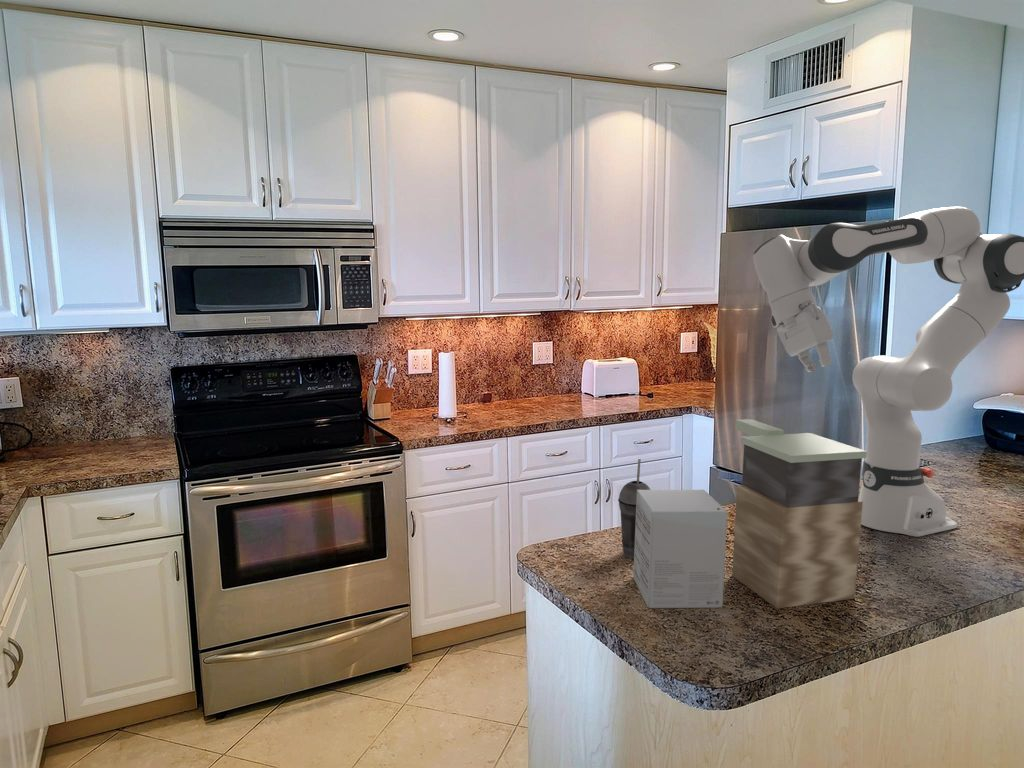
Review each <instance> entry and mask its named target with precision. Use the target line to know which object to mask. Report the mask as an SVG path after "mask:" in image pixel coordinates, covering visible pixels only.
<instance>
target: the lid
mask: <svg viewBox="0 0 1024 768" xmlns="http://www.w3.org/2000/svg"><path fill="white" fill-rule="evenodd" d="M734 424H735V427H734V429H735V431H739V432H741V433H744V434H746V436H745V435H744V436H740V444H743V445H744V444H745V445H747V446H750V447H752V448H755V449H757V450H760V451H762V452H765V453H767V454H770V455H772V456H775V457H777V458H780V459H782V460H785V461H787V462H790V463H797V462H813V461H828V460H843V459H859V458H862V459H866V456H867V451H866V449H865V450H864V449H861V448H858V447H855V446H852V445H849V444H845V443H843V442H839V441H837V440H834V439H831V438H827V437H824V436H821V435H818V434H815V433H811V432H803V433H799V432H798V433H785V430H784V429H782V428H779V427H775V426H773V425H770V424H767V423H764V422H760V421H759V420H755V419H752V418H745V419H744V418H743V419H735V423H734Z"/></svg>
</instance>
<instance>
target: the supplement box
mask: <svg viewBox="0 0 1024 768" xmlns="http://www.w3.org/2000/svg"><path fill="white" fill-rule="evenodd" d="M727 523H728V511H727V510H726V509H725V508H724V507H723V506H722V505H721V504H720V503H719V502H718V501H717V500H715V499H714V498H713V497H712V496H711V495H710V494H709V493H708V492H707V491H706V490H705V489H651V490H637V502H636V526H635V549H634V559H633V575H632V577H633V579H634V580H633V581H635V584H636V586H637V588H638V590H639V592H640V594H641V596H642V599H643V601H644V602H645V604H646V607H647V608H649V609H684V608H685V609H689V608H690V609H692V608H693V609H695V608H696V609H697V608H698V609H701V608H703V609H705V608H709V609H710V608H713V609H714V608H716V609H717V608H723V603H724V586H725V585H724V584H725V566H726V565H725V563H726V541H727V525H728V524H727Z"/></svg>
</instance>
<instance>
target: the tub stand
mask: <svg viewBox="0 0 1024 768" xmlns="http://www.w3.org/2000/svg"><path fill="white" fill-rule="evenodd" d="M862 459H863V458H859V459H843V460H828V461H813V462H797V463H790V462H787V461H785V460H782V459H780V458H777V457H775V456H772V455H770V454H767V453H765V452H762V451H760V450H757V449H755V448H752V447H750V446H747V445H745V444H743V461H742V462H743V463H742V478H741V484H737V485H736V498H735V499H736V500H735V501H736V503H735V519H734V535H733V554H732V566H731V567H732V570H731V576H732V577H733V578H735V579H736V580H737V581H739V582H740V583H741V584H743V585H744V586H745V587H747V588H748V589H749V590H751V591H752V592H754V593H755V594H757V596H758V597H759V596H760V597H761V598H762V599H763V600H764V601H766V602H768V603H769V604H770V605H771V606H773V607H775V609H782V608H783V609H784V608H789V607H796V606H797V607H798V606H805V605H813V604H822V603H831V602H837V601H838V602H839V601H844V600H845V601H846V600H853V599H855V598H856V597H855V596H856V587H857V586H856V585H857V573H858V564H859V550H860V540H861V538H860V537H861V528H862V525H861V517H862V506H863V501H860V500H859V495H860V483H861V474H862Z"/></svg>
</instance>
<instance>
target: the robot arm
mask: <svg viewBox="0 0 1024 768" xmlns="http://www.w3.org/2000/svg"><path fill="white" fill-rule="evenodd" d="M977 215H978V214H976V213H975V212H974V211H973V210H971V209H970V208H968V207H964V206H949V207H947V206H946V207H939V208H932V209H927V210H922V211H917V212H914V213H911V214H907V215H905V216H902V217H900V218H897V219H892V220H888V221H881V222H876V223H871V224H861V225H859V224H854V223H853V224H852V223H847V222H832V223H828V224H826V225H824V226H823V227H822V228H820V230H819V231H817V233H816V234H814V236H813V237H811V238H810V239H809V240H808V239H807V240H801V239H794V238H790V237H787V236H785V235H784V234H778V235H775V236H773V237H771V238H769V239H767V240H766V241H765V242H763V243H762V244H761V245H759V246H758V247H757V248H756V249H755V250H754V252H753V255H752V259H753V260H752V261H753V265H754V268H755V269H754V270H755V272H756V276H757V277H758V280H759V283H760V285H761V287H762V288H763V290H764V291H765V292H766V295H767V299H768V300H767V301H768V302H767V303H768V304H769V307H770V309H771V317H770V323H771V325H772V327H773V328H774V329H775V328H776V333H777V334H778V337H779V340H780V341H781V343H782V345H783V347H784V349H785V352H786V353H787V354H788V355H789V356H790V357H794V356H797V357H798V360H799V361H800V362H801V363H802V365H803V366H804V369H805V370H806V372H807V373H811V372H814V371H816V370H817V365H816V363H815V361H813V359H812V358H811V356H810V355H811V354H810V351H809V350H812V349H814V348H815V351H816V352H817V353H818V357H819V359H818V362H819V363H820V366H821V367H823V368H824V367H827V366H830V365H831V364H832V363H833V361H832V359H831V357H830V347H829V345H828V342H829V341H831V340H833V339H834V332H833V331H834V330H833V329H832V327H831V325H830V323H829V320H828V319H827V317H826V315H825V313H824V311H823V310H822V308H821V307H819V306H818V304H817V302H816V299H815V297H814V294H813V292H812V289H811V288H812V287H817V286H821V285H824V284H826V283H828V282H829V281H830V280H832V279H834V278H835V277H837V276H838V275H841V274H842V273H843V272H846V271H848V270H850V269H852V268H853V267H856V266H857V265H858V264H860V263H861V262H862V261H863V260H864V259H865V258H866V257H871V256H875V255H880V254H885V253H889V255H890V257H891V258H893V260H895V261H896V262H898V263H900V264H901V265H903V264H904V265H907V264H909V265H910V264H920V263H925V262H930V261H933V265H934V269H935V272H936V273H937V275H938V276H939V278H940V279H942V280H944V281H946V282H948V283H953V284H958V285H959V284H961V285H960V287H959V289H958V291H957V293H956V295H955V296H954V297H953V298H952V299H951V300H949V301H948V302H946V304H945V305H944V306H942V307H941V308H940V309H939V310H938V311H937V312H936V313H935V314H934V315H932V316H931V318H929V319H928V320H927V321H926V322H925V323H924V324H923V325H922V326H921V327H920V328H919V329H918V330H917V332H916V334H915V340H916V344H915V346H914V348H913V349H912V351H911V352H910V353H909V354H907V355H906V356H904V357H897V356H892V355H891V356H890V355H885V354H884V355H883V354H882V355H881V354H880V355H874V356H869V357H864V358H863V359H861V360H860V361H859V362H858V363H857V364H856V366H855V367H854V369H853V371H852V379H851V380H852V383H853V384H852V385H853V386H854V388H855V390H857V392H858V394H859V396H860V399H861V402H862V406H863V410H864V416H865V421H866V447H865V451H867V456H866V458H864V461H863V462H862V466H861V478H862V484H861V487H860V490H859V496H858V500H860V501H863V506H862V517H861V526H864V527H867V528H869V529H873V530H878V531H880V532H881V531H882V532H888V533H894V534H903V535H907V536H910V537H924V536H927V535H933V534H936V533H940V532H941V533H942V532H945V531H949V530H950V531H951V530H953V529H957V528H958V524H957V522H956V521H955V520H953V519H952V518H950V517H948V516H947V507H946V501H945V499H943V498H942V496H941V495H939V494H938V493H937V492H936V491H934V490H933V489H932V488H931V487H930V486H929V485H927V484H926V483H925V479H924V477H926V478H927V479H928V478H929V479H932V478H933V477H934V476H935V471H934V469H932V468H927V467H924V468H921V467H920V460H921V449H922V441H923V438H922V437H923V436H922V432H921V430H920V428H919V427H918V425H917V424H916V422H915V420H914V417H913V414H912V411H913V412H914V411H915V412H926V411H928V412H930V411H936V410H939V409H941V408H942V407H944V406H945V405H946V404H947V402H948V401H949V400H950V398H951V396H952V392H953V381H952V378H953V377H952V376H953V374H954V372H955V370H956V369H957V367H958V365H959V364H960V363H961V362H962V361H964V359H965V358H966V357H967V356H968V355H969V354H970V353H971V352H972V351H973V350H974V349H975V348H976V347H977V346H978V345H980V343H982V342H983V341H984V340H985V339H986V338H988V336H989V335H990V334H991V333H992V332H993V331H994V330H995V329H996V328H997V326H999V324H1000V323H1001V322H1002V320H1003V318H1004V317H1005V316H1006V314H1007V313H1008V311H1009V309H1010V307H1011V299H1010V297H1009V295H1008V293H1009V292H1013V291H1015V290H1016V289H1017V288H1019V287H1021V283H1022V281H1024V236H1022V235H1019V234H1014V233H1003V234H996V233H995V234H994V233H993V234H991V233H989V234H983V233H981V224H980V223H981V222H980V219H979V217H978V216H977Z"/></svg>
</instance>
